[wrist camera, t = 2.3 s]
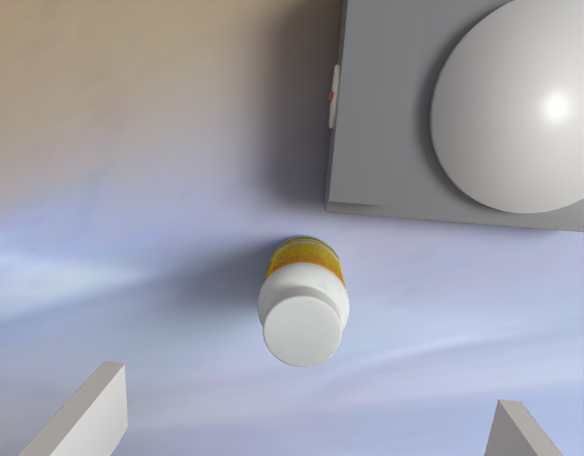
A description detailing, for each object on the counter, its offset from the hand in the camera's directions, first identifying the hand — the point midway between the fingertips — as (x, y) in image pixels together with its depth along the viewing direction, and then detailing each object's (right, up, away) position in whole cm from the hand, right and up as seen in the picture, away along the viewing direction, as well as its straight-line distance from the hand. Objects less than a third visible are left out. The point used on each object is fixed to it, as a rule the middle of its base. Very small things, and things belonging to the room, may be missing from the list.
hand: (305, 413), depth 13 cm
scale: (+11, +14, +11) cm, 22 cm away
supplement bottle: (+1, +4, +15) cm, 15 cm away
